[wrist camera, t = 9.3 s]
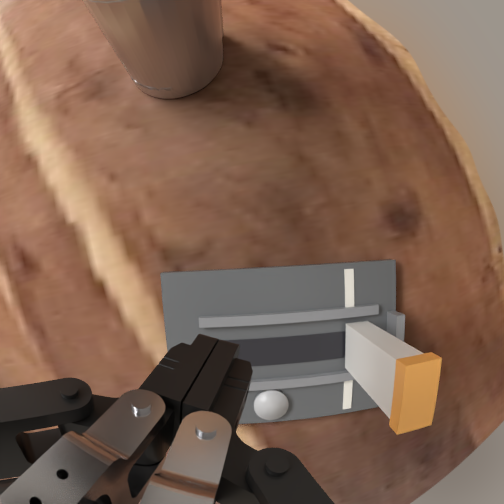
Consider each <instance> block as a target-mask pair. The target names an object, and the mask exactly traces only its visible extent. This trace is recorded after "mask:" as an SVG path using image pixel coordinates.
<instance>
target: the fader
mask: <svg viewBox="0 0 504 504" xmlns="http://www.w3.org/2000/svg"><path fill="white" fill-rule="evenodd" d="M441 362H442V358H441V357H439V356H438V355H436V354H434V353H432V352H429V353H422V352H421V351H419V350H417V349H415V348H414V347H412V346H410V345H408V344H407V343H405V342H403V341H401V340H400V339H398V338H396V337H395V336H393V335H391V334H389V333H388V332H386V331H384V330H382V329H381V328H379V327H377V326H375V325H374V324H372V323H370V322H369V321H363V322H354V323H346V344H345V368H346V369H347V371H348V372H349V373H350V374H351V375H352V376H353V377H354V379H355V380H356V381H357V382H358V383H359V384H360V385H361V387H362V388H363V389H364V390H365V391H366V392H367V393H368V395H369V396H370V397H371V398H372V399H373V400H374V402H375V403H376V404H377V405H378V406H379V407H380V408H381V410H382V411H383V412H384V413H385V414H386V415H387V416H388V418H389V419H390V422H389V426H390V427H391V428H392V429H393V431H394V432H395V433H396V434H397V435H398V434H402V433H406V432H409V431H413V430H416V429H420V428H423V427H426V426H429V425H432V420H433V415H434V409H435V404H436V398H437V392H438V385H439V378H440V370H441Z"/></svg>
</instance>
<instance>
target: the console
mask: <svg viewBox="0 0 504 504" xmlns="http://www.w3.org/2000/svg"><path fill="white" fill-rule="evenodd" d="M161 287H162V300H163V311H164V322H165V332H166V341H167V350H168V351H169V350H170V349H171V348H172V347H174V346H176V345H178V344H180V343H186V344H189V345H191V344H192V343H193V341H194V340H195V338H196V337H197V335H198V334H203V335H206V336H210V337H213V338H217V339H219V340H224V341H228V342H231V343H235V344H239V345H240V350H239V355H238V359H242V360H245V361H249V362H250V363H251V367H252V370H253V374H252V378H251V383H250V387H249V391H248V396H247V400H246V404H245V406H244V409H243V412H242V415H241V418H240V421H239V424H247V423H264V422H277V421H288V420H297V419H306V418H314V417H322V416H329V415H335V414H342V413H348V412H354V411H359V410H364V409H370V408H375V407H379V406H378V405H377V404H376V403H375V402H374V400H373V399H372V398H371V397H370V396H369V395H368V393H367V392H366V391H365V390H364V389H363V388H362V387H361V385H360V384H359V383H358V382H357V381H356V380H355V379H354V377H353V376H352V375H351V374H350V373H349V372H348V371H347V369H346V368H345V344H346V323H354V322H363V321H369V322H370V323H372V324H374V325H375V326H377V327H379V328H381V329H382V330H384V331H386V332H388V333H389V334H391V335H393V336H395V337H396V338H398V339H400V340H401V341H403V342H404V330H405V314H402V313H400V312H397V311H396V261H395V260H392V259H387V260H373V261H358V262H342V263H326V264H309V265H292V266H275V267H257V268H237V269H218V270H197V271H175V272H162V273H161Z"/></svg>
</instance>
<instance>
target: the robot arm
mask: <svg viewBox="0 0 504 504" xmlns="http://www.w3.org/2000/svg"><path fill="white" fill-rule="evenodd" d="M83 2H84V4H85V5H86V7H87V8H88V10H89V12H90V13H91V15H92V16H93V18H94V20H95V21H96V23H97V24H98V26H99V27H100V29H101V31H102V32H103V34H104V35H105V37H106V39H107V40H108V42H109V43H110V45H111V46H112V48H113V50H114V51H115V53H116V54H117V56H118V58H119V59H120V61H121V62H122V64H123V65H124V67H125V69H126V70H127V72H128V73H129V75H130V76H131V78H132V80H133V81H134V83H135V84H136V85H137V86H138V88H139V89H140V90H142V91H143V92H144V93H146V94H148V95H150V96H153V97H157V98H162V99H174V98H179V97H184V96H187V95H190V94H192V93H195V92H197V91H198V90H200V89H202V88H204V87H205V86H206V85H207V84H209V83H210V82H211V81H212V80H213V79H214V77H215V76H216V75H217V74H218V72H219V70H220V68H221V66H222V62H223V44H222V37H223V35H224V33H223V20H222V6H221V0H83ZM239 350H240V345H239V344H235V343H231V342H228V341H224V340H219V339H217V338H213V337H210V336H206V335H203V334H198V335H197V337H196V338H195V340H194V341H193V343H192V344H191V345H189V344H186V343H180V344H178V345H176V346H174V347H172V348H171V349H170V350H169V351H168V352H167V354H166V355H165V356H164V358H163V359H162V360H161V361H160V362H159V365H157V366H156V367H155V369H154V370H153V371H152V373H151V374H150V375H149V376H148V378H147V379H146V380H145V381H144V383H143V384H142V385H141V386H140V388H139V389H137V390H131V391H128V392H126V393H124V394H123V395H122V396H121V397H120V398H111V397H104V396H99V395H93V394H92V391H91V388H90V387H89V385H88V384H87V383H85V382H84V381H82V380H80V379H76V378H63V379H57V380H52V381H46V382H40V383H34V384H27V385H21V386H14V387H7V388H0V479H4V478H12V477H19V476H20V477H19V478H13V479H7V480H0V504H139V502H140V500H141V502H140V504H215V503H216V501H217V502H219V503H220V504H334V503H333V501H332V500H331V499H330V498H329V497H328V495H327V494H326V493H325V492H324V490H323V489H322V488H321V487H320V486H319V484H318V483H317V482H316V481H315V479H314V478H313V477H312V476H311V474H310V473H309V472H308V470H307V469H306V468H305V467H304V465H303V464H302V463H301V461H300V460H299V459H298V458H297V457H296V456H295V455H294V454H292V453H291V452H289V451H287V450H284V449H280V448H266V449H262V450H259V451H257V450H255V449H253V448H251V447H250V446H248V445H246V444H245V443H244V442H242V441H241V439H240V438H239V437H238V435H237V434H236V430H237V427H238V424H239V421H240V418H241V415H242V412H243V409H244V406H245V404H246V400H247V396H248V391H249V387H250V383H251V378H252V374H253V370H252V367H251V363H250V362H249V361H245V360H242V359H238V355H239ZM57 425H58V428H56V429H51V430H46V431H40V432H35V433H23V432H24V431H30V430H36V429H41V428H47V427H52V426H57ZM170 446H171V448H170V450H169V452H168V455H167V457H166V452H167V450H168V449H169V447H170Z"/></svg>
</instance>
